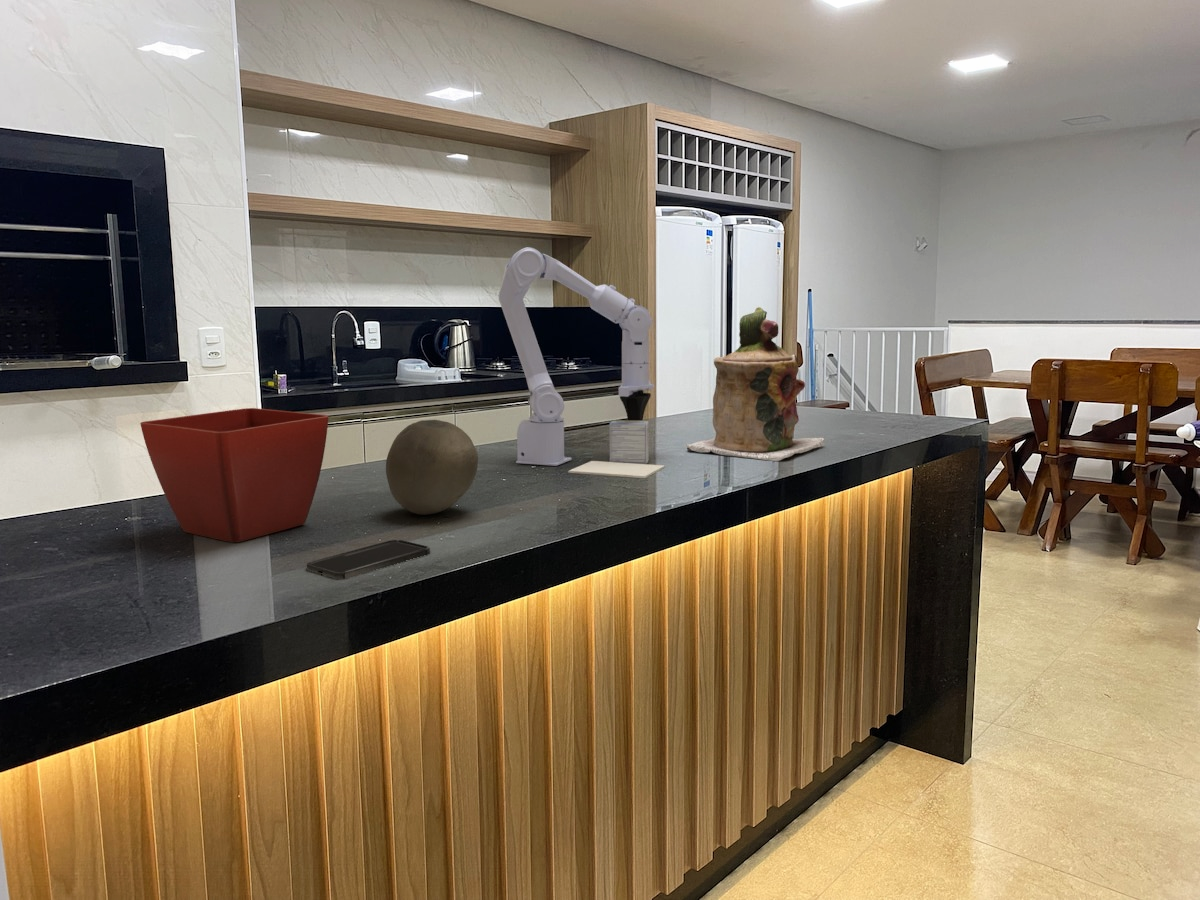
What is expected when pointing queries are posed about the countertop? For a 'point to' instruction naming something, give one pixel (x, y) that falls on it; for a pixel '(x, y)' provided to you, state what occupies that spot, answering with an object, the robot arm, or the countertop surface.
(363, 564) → the phone
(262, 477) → the plant pot
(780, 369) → the cookie jar
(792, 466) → the countertop surface
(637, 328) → the robot arm
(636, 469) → the mat
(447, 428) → the cantaloupe
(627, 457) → the medicine box
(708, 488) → the countertop surface
